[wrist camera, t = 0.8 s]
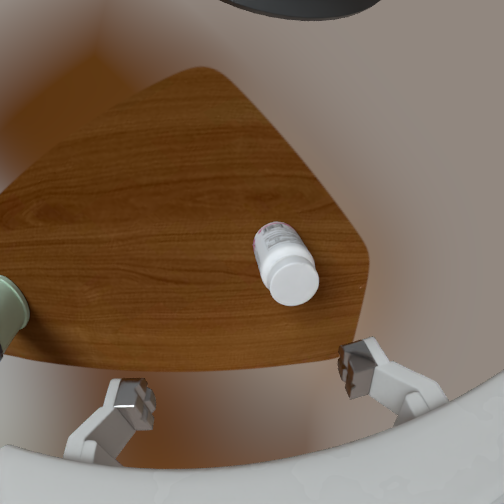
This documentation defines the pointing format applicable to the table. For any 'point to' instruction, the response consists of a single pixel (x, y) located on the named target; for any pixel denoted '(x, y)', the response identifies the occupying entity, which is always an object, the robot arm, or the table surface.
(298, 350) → the table surface
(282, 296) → the pill bottle
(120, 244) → the table surface
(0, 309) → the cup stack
